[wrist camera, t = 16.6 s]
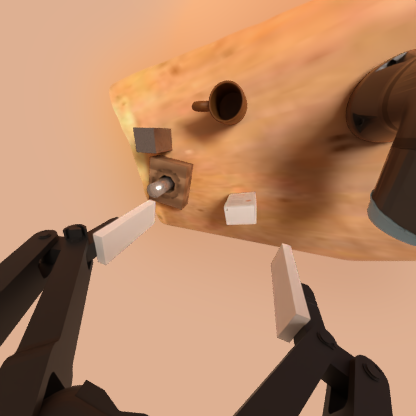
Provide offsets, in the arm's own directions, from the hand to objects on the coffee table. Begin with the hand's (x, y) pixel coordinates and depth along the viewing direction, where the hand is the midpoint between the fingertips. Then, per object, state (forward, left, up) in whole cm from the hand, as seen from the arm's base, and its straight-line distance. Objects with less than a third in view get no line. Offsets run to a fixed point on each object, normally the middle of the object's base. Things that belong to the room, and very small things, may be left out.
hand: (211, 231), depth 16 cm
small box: (+10, +3, -35) cm, 37 cm away
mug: (-13, -9, -35) cm, 38 cm away
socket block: (+10, -21, -35) cm, 42 cm away
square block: (-2, -26, -35) cm, 43 cm away
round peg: (+10, -21, -35) cm, 42 cm away
